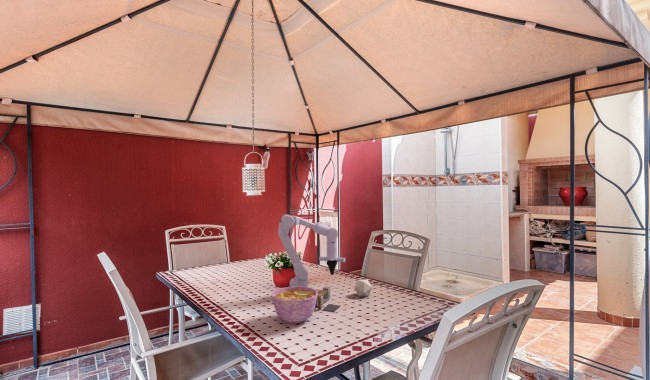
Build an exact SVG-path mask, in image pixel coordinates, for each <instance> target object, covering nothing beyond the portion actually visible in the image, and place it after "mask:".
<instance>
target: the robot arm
mask: <svg viewBox="0 0 650 380" xmlns="http://www.w3.org/2000/svg"><path fill="white" fill-rule="evenodd" d="M298 225H300V226H304V227H306V228H309V229H312V230H313V232H314V233H316V234H318V235H321V236H323V237H326V256H319V257H318V261H319V262H322V261H323V262H326V265H327V267H328V270H329V272H330V276H333V275H335V270H336V268H337V267H336V266H337V264H338V263H339V262H341V263H346V257H341V256H340V257H339V256H338V236H339V233H338V230H337V229H336V228H334V227H332V226H331V225H327V224H325V223H323V222H321V221H320V222H315V223H314V222H311V221H309V220H307V219H305V218H303V217H299V216H296V215H290V214H288V213H286V214H283V215H282V216H281V217H280V220H279V224H278V229H277V231H278V232H277V233H278V235H277V236H278V237H279V239H280V241H281V244H282V245H283V247H284V250H285V252H286V254H287V255H288V258H289V259H290V262H291V265H292V266H293V272H294V274H295V277H292V278H291V279H290V281H289V287H294V286H302V287H309V270H308V269H307V268H306V267H305V265H303V263H302V261H301V259H300V257H299V255H298V253H297V250H296V248H295V247H294V245H293V242H292V241H291V239H290V236H289V232H290V229H292V227H293V226H298Z"/></svg>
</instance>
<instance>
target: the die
mask: <svg viewBox="0 0 650 380" xmlns="http://www.w3.org/2000/svg"><path fill="white" fill-rule="evenodd" d="M372 289H373V287H372V284H371V283H370V281H369V279H357V281H356V284H355V286H354V291H355V292H356V294H357V296H358V297H360V298H361V297H369V296H370V294H371V291H372Z"/></svg>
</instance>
